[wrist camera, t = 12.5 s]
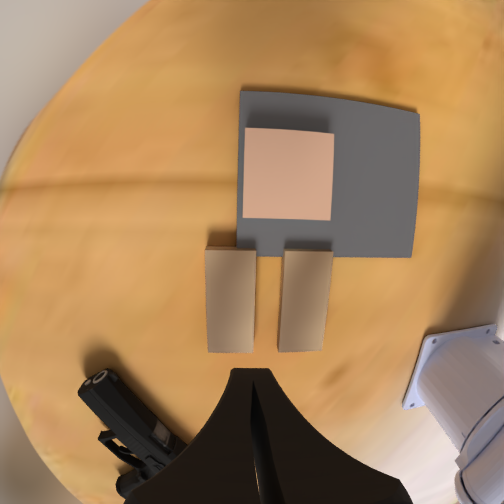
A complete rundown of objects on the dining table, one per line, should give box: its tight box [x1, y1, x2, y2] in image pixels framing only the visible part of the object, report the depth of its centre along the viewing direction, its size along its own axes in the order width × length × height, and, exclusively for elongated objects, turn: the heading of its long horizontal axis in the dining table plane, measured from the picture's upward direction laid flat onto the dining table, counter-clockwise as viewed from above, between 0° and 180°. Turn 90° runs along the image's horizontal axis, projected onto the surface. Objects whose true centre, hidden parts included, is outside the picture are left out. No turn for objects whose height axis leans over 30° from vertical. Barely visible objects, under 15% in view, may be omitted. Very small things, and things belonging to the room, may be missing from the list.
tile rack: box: [205, 246, 333, 353], centre depth 20 cm, size 8×7×1 cm
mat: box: [237, 91, 420, 258], centre depth 18 cm, size 12×10×1 cm
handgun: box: [78, 368, 188, 499], centre depth 22 cm, size 3×17×12 cm
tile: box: [242, 128, 334, 220], centre depth 17 cm, size 1×5×5 cm
